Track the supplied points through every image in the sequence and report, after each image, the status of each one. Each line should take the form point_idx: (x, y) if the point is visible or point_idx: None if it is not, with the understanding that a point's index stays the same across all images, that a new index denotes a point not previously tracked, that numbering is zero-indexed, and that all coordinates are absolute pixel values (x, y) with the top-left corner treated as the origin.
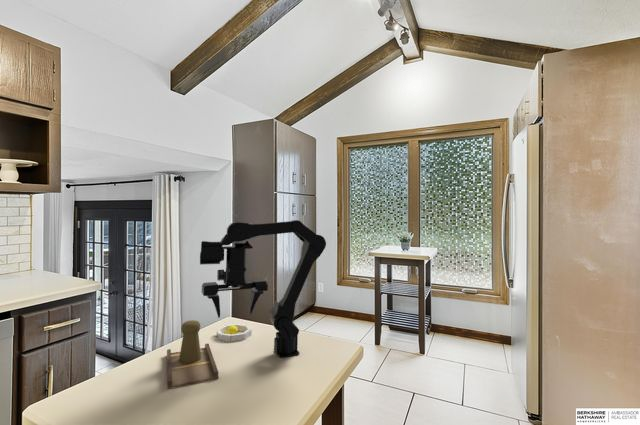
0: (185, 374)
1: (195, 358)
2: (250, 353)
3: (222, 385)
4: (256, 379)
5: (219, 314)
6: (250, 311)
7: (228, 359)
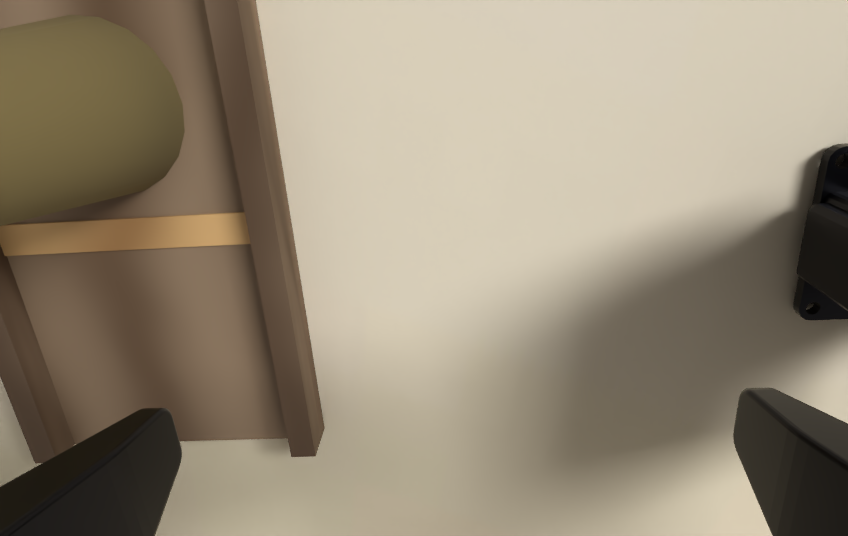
0: (119, 347)
1: (136, 190)
2: (607, 130)
3: (345, 494)
4: (532, 502)
5: (146, 525)
6: (765, 501)
7: (408, 184)
